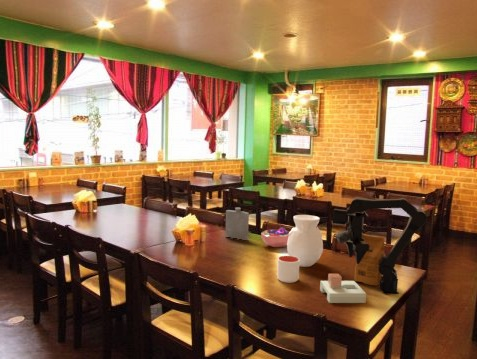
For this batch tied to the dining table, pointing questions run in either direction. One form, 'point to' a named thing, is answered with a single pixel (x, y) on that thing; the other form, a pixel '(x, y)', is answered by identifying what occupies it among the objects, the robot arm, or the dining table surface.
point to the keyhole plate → (343, 292)
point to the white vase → (305, 240)
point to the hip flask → (237, 224)
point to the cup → (288, 269)
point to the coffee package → (370, 261)
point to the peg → (334, 280)
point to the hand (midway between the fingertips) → (354, 260)
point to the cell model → (276, 237)
